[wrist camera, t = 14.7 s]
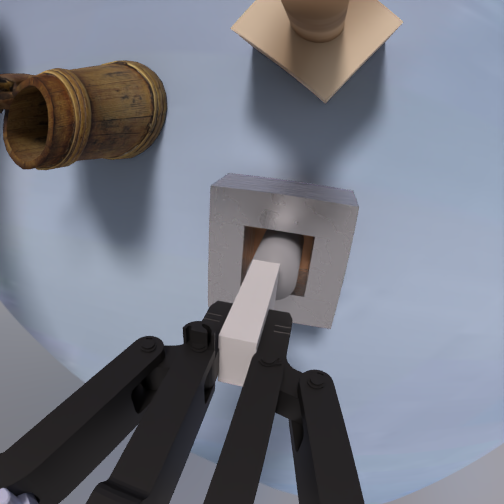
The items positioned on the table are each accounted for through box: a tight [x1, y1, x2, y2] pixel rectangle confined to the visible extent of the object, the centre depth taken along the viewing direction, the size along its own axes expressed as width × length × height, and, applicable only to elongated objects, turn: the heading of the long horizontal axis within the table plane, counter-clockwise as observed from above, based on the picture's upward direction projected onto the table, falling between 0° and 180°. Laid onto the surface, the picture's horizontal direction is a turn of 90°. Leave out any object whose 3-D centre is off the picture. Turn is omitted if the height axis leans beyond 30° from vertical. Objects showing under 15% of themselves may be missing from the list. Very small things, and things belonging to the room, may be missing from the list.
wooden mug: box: [0, 61, 167, 170], centre depth 16 cm, size 9×14×18 cm, turn 46°
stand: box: [230, 0, 403, 104], centre depth 14 cm, size 7×7×11 cm
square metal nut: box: [208, 173, 359, 329], centre depth 22 cm, size 9×9×4 cm
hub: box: [246, 227, 314, 300], centre depth 23 cm, size 7×7×8 cm
